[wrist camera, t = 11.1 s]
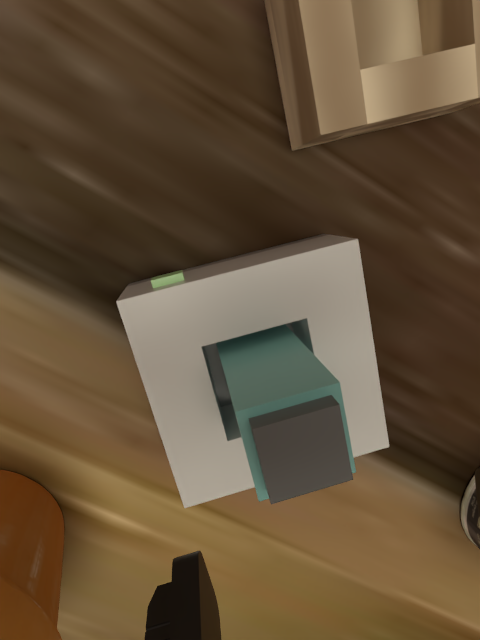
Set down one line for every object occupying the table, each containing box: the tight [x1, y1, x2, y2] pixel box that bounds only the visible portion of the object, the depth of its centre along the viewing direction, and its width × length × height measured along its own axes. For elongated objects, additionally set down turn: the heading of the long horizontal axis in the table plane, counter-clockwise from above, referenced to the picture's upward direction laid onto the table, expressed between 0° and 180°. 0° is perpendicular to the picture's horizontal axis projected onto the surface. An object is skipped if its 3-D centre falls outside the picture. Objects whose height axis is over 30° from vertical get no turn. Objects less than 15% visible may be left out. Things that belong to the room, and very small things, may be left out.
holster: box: [264, 0, 480, 151], centre depth 20 cm, size 10×10×5 cm
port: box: [116, 234, 389, 508], centre depth 24 cm, size 12×12×5 cm
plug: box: [216, 324, 356, 504], centre depth 20 cm, size 4×4×11 cm
